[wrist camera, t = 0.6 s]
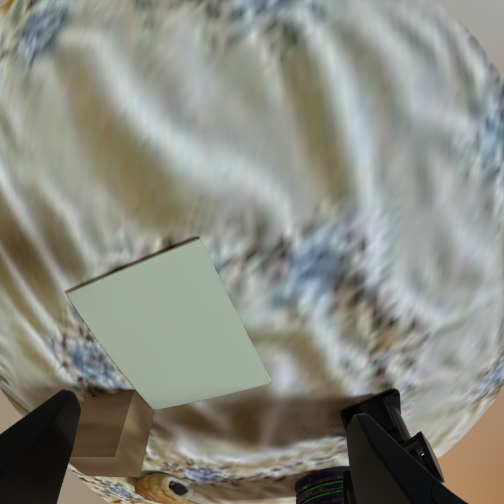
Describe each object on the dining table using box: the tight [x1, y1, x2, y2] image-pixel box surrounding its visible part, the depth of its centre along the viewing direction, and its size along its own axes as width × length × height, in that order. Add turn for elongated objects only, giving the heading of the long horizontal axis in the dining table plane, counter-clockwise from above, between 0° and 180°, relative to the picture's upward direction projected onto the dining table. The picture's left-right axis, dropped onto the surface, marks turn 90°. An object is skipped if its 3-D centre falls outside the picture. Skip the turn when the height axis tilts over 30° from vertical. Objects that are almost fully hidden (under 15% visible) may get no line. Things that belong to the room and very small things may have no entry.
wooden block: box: [69, 390, 154, 477], centre depth 23 cm, size 4×7×8 cm, turn 111°
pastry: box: [135, 473, 195, 504], centre depth 33 cm, size 9×7×4 cm
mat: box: [67, 237, 271, 410], centre depth 24 cm, size 14×12×1 cm
